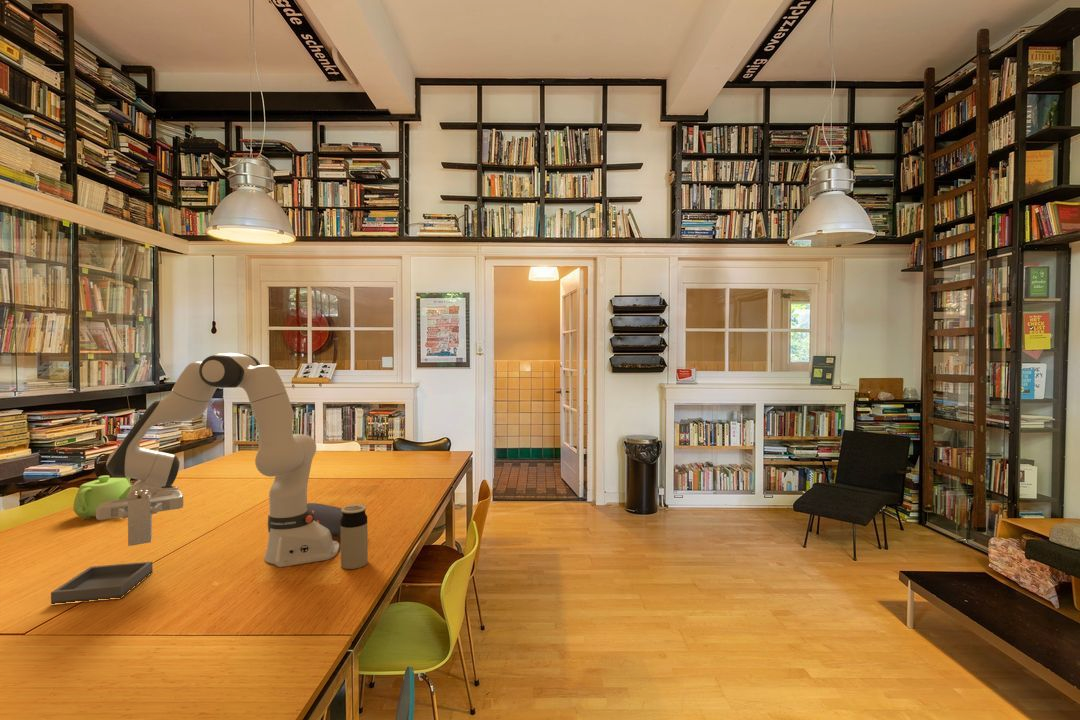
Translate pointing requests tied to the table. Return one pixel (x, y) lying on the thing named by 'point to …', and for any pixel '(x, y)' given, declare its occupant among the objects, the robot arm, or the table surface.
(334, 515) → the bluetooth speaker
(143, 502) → the ball-topped square pillar
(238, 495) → the table surface
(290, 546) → the robot arm
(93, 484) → the teapot
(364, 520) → the travel mug
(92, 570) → the charcoal bin
